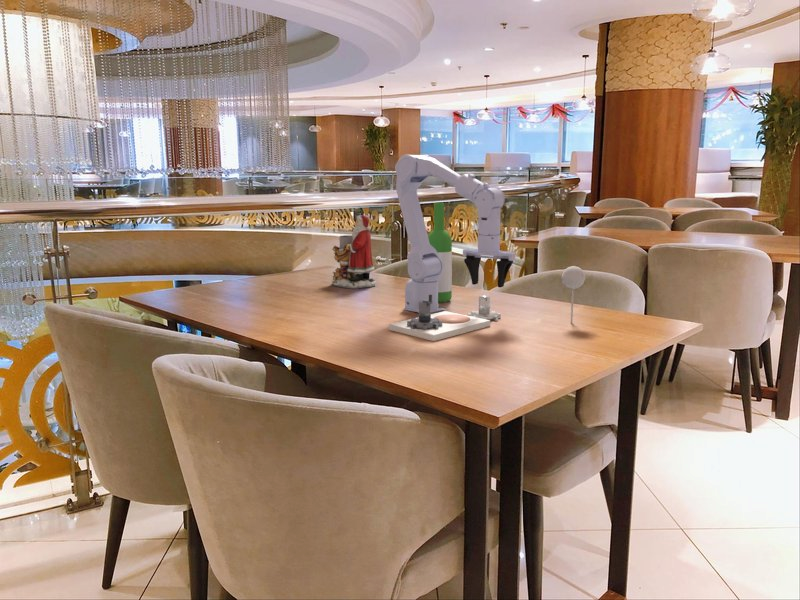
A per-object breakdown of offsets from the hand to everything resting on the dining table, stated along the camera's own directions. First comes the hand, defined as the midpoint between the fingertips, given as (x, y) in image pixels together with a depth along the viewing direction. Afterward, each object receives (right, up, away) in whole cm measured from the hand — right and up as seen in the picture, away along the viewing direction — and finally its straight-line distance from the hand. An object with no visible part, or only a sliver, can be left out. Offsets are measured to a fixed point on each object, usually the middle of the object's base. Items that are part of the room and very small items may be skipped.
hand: (487, 285), depth 173 cm
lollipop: (+22, -10, -3) cm, 24 cm away
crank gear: (-17, -10, -10) cm, 23 cm away
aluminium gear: (-1, -9, +4) cm, 10 cm away
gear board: (-13, -11, -6) cm, 18 cm away
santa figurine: (-40, +1, +56) cm, 69 cm away
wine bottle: (-11, -4, +28) cm, 30 cm away
